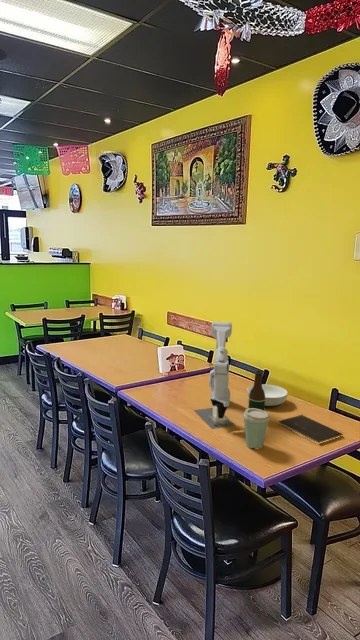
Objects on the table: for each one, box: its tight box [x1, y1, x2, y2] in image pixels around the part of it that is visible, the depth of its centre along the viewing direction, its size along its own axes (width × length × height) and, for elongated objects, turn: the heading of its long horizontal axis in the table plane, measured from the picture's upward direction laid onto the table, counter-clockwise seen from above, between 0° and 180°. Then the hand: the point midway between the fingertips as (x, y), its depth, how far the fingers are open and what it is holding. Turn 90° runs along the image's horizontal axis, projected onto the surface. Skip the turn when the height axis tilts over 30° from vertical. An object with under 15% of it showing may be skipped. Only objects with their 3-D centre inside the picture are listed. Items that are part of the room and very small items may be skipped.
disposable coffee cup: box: [243, 408, 270, 449], centre depth 170 cm, size 11×11×15 cm
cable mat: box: [193, 407, 237, 430], centre depth 196 cm, size 12×22×1 cm, turn 20°
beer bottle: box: [247, 370, 266, 411], centre depth 195 cm, size 8×8×24 cm
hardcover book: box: [278, 414, 344, 443], centre depth 188 cm, size 16×23×2 cm
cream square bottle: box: [212, 405, 224, 421], centre depth 191 cm, size 4×4×7 cm
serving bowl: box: [246, 383, 289, 407], centre depth 219 cm, size 21×21×7 cm
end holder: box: [208, 414, 231, 426], centre depth 192 cm, size 8×7×2 cm
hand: (218, 415), depth 191 cm, fingers closed on cream square bottle, 4 cm apart
